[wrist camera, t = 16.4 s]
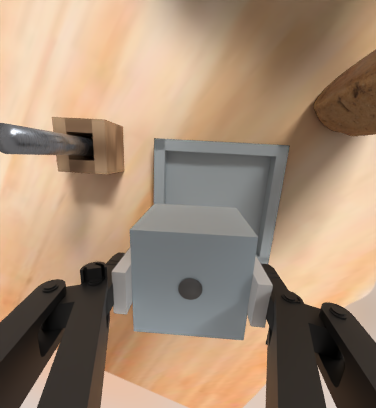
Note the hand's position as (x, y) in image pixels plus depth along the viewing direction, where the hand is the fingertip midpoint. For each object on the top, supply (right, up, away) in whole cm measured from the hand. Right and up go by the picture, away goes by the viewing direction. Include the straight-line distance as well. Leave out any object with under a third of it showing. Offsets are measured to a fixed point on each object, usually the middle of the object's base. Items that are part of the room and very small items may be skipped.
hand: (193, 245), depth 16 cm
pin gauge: (-14, +13, +14) cm, 24 cm away
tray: (+4, +4, +16) cm, 17 cm away
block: (0, 0, 0) cm, 0 cm away
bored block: (-14, +13, +14) cm, 24 cm away
